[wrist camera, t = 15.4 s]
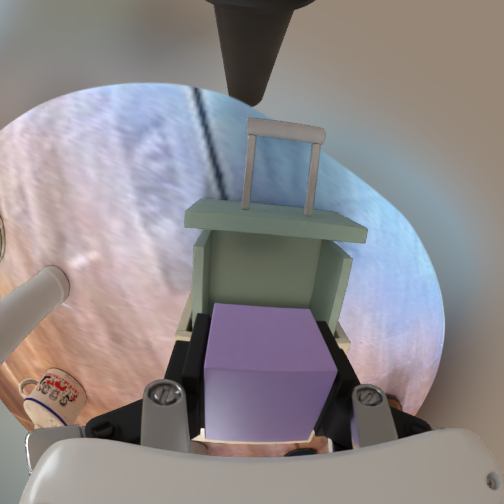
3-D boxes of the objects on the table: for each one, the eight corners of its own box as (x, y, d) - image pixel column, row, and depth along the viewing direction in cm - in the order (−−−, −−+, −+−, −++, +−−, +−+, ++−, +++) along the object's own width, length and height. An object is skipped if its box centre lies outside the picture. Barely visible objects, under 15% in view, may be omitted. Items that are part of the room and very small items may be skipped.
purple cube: (214, 302, 11) (203, 367, 7) (310, 308, 11) (338, 370, 7) (211, 373, 12) (204, 439, 8) (293, 377, 12) (308, 440, 9)
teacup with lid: (88, 382, 33) (60, 434, 22) (88, 411, 36) (67, 457, 25) (31, 349, 32) (-4, 390, 20) (36, 381, 34) (9, 420, 23)
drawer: (206, 123, 23) (193, 107, 16) (345, 141, 24) (380, 134, 17) (195, 329, 29) (185, 372, 23) (312, 336, 30) (328, 377, 23)
